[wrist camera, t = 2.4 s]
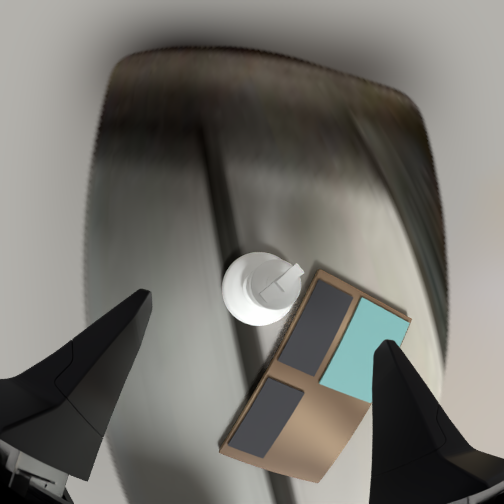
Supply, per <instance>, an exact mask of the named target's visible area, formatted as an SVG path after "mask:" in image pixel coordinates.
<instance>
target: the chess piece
mask: <svg viewBox="0 0 504 504" xmlns="http://www.w3.org/2000/svg"><path fill="white" fill-rule="evenodd" d="M304 273H305V272H304V271H303V270H302V269H301V267H300V266H299V265H298V264H297V263H296V264H294V265H292V264H290V263H289V262H287V261H284V260H282V259H281V258H279V257H277V256H275V255H273V254H270V253H266V252H252V253H248V254H245V255H243V256H241V257H239V258H238V259H236V260H235V261H234V262H233V263H232V264H231V265H230V266H229V268H228V269H227V271H226V273H225V275H224V278H223V282H222V295H223V299H224V302H225V305H226V307H227V308H228V310H229V311H230V312H231V314H232V315H233V316H234V317H236V318H237V319H238V320H240V321H242V322H244V323H246V324H250V325H255V326H263V325H268V324H271V323H274V322H276V321H278V320H280V319H281V318H282V317H284V316H285V315H286V314H287V313H288V311H289V310H290V308H291V307H292V305H293V303H294V302H295V301H296V299H297V298H298V296H299V294H300V291H301V278H300V276H301V275H302V274H304Z"/></svg>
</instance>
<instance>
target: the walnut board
mask: <svg viewBox="0 0 504 504" xmlns="http://www.w3.org/2000/svg"><path fill="white" fill-rule="evenodd" d="M318 279H319V280H321V281H323V282H325V283H327V284H329V285H331V286H333V287H335V288H336V289H338V290H340V291H342V292H344V293H346V294H348V295H350V296H352V297H353V300H352V302H351V304H350V306H349V309H348V311H347V313H346V315H345V317H344V319H343V321H342V323H341V326H340V328H339V330H338V332H337V334H336V336H335V338H334V340H333V342H332V344H331V346H330V348H329V350H328V352H327V354H326V355H325V357H324V359H323V361H322V363H321V365H320V367H319V369H318V370H317V372H316V374H315V376H314V377H313V376H311V375H309V374H306V373H304V372H302V371H299V370H297V369H295V368H292V367H290V366H288V365H286V364H283V363H281V362H279V361H277V360H278V358H279V356H280V354H281V352H282V350H283V349H284V347H285V345H286V343H287V341H288V339H289V337H290V335H291V333H292V331H293V330H294V328H295V326H296V324H297V322H298V320H299V318H300V316H301V314H302V312H303V310H304V308H305V306H306V304H307V302H308V300H309V298H310V296H311V294H312V291H313V289H314V287H315V285H316V283H317V281H318ZM361 297H363V298H364V299H366V300H368V301H370V302H372V303H374V304H376V305H377V306H379V307H381V308H383V309H385V310H387V311H388V312H390V313H392V314H394V315H396V316H398V317H399V318H401V319H403V320H405V321H407V322H409V323H411V320H412V319H411V318H409V317H407V316H406V315H404V314H402V313H400V312H398V311H397V310H395V309H393V308H391V307H389V306H388V305H386V304H384V303H382V302H380V301H379V300H377V299H375V298H373V297H371V296H369V295H368V294H366V293H364V292H362V291H360V290H358V289H357V288H355V287H353V286H351V285H349V284H347V283H346V282H344V281H342V280H340V279H338V278H336V277H334V276H333V275H331V274H329V273H327V272H325V271H323V270H321V269H318V270H317V272H316V274H315V276H314V278H313V280H312V282H311V284H310V286H309V289H308V291H307V293H306V295H305V297H304V299H303V301H302V303H301V305H300V307H299V309H298V311H297V313H296V315H295V317H294V319H293V321H292V323H291V325H290V327H289V328H288V330H287V332H286V334H285V336H284V338H283V340H282V342H281V344H280V346H279V347H278V349H277V351H276V353H275V355H274V357H273V359H272V360H271V362H270V364H269V366H268V368H267V370H266V371H265V373H264V375H263V377H262V378H261V380H260V382H259V384H258V386H257V387H256V389H255V391H254V393H253V394H252V396H251V398H250V399H249V401H248V403H247V405H246V406H245V408H244V410H243V411H242V413H241V415H240V416H239V418H238V420H237V421H236V423H235V425H234V426H233V428H232V429H231V431H230V433H229V434H228V436H227V437H226V439H225V441H224V442H223V444H222V445H221V447H220V449H219V453H221V454H223V455H226V456H229V457H231V458H234V459H237V460H239V461H242V462H245V463H248V464H251V465H253V466H256V467H260V468H263V469H266V470H269V471H272V472H276V473H279V474H283V475H286V476H290V477H294V478H298V479H302V480H306V481H310V482H315V483H319V481H320V480H321V479H322V478H323V476H324V475H325V474H326V472H327V471H328V470H329V468H330V467H331V466H332V464H333V463H334V461H335V460H336V459H337V457H338V456H339V454H340V453H341V452H342V450H343V449H344V447H345V446H346V444H347V443H348V441H349V440H350V438H351V437H352V435H353V433H354V432H355V430H356V429H357V427H358V426H359V424H360V422H361V421H362V419H363V417H364V416H365V414H366V412H367V411H368V409H369V407H370V405H371V404H372V402H371V403H369V402H366V401H363V400H360V399H358V398H355V397H352V396H350V395H347V394H344V393H342V392H339V391H336V390H334V389H331V388H329V387H326V386H324V385H321V384H319V381H320V379H321V377H322V376H323V374H324V372H325V370H326V368H327V366H328V364H329V363H330V361H331V359H332V357H333V355H334V353H335V351H336V349H337V347H338V345H339V343H340V341H341V339H342V337H343V335H344V333H345V331H346V329H347V327H348V325H349V322H350V320H351V318H352V316H353V314H354V312H355V309H356V307H357V305H358V303H359V301H360V298H361ZM409 325H410V324H409ZM408 328H409V326H408ZM407 330H408V329H407ZM406 333H407V331H406ZM406 333H405V335H406ZM404 337H405V336H404ZM403 340H404V338H403ZM403 340H402V342H403ZM401 344H402V343H401ZM400 346H401V345H400ZM268 377H269V378H272V379H274V380H276V381H278V382H281V383H283V384H285V385H288V386H290V387H293V388H295V389H297V390H300V391H302V392H304V393H305V394H304V395H303V397H302V399H301V400H300V402H299V404H298V405H297V407H296V409H295V410H294V412H293V414H292V415H291V417H290V419H289V420H288V422H287V423H286V425H285V427H284V428H283V430H282V431H281V433H280V434H279V436H278V437H277V439H276V440H275V442H274V443H273V445H272V446H271V448H270V449H269V451H268V452H267V454H266V455H265V457H264V458H260V457H257V456H254V455H251V454H248V453H246V452H243V451H240V450H238V449H235V448H232V447H230V446H228V443H229V441H230V440H231V438H232V437H233V435H234V433H235V432H236V430H237V429H238V427H239V425H240V424H241V422H242V420H243V419H244V417H245V416H246V414H247V412H248V411H249V409H250V407H251V405H252V404H253V402H254V400H255V399H256V397H257V395H258V394H259V392H260V390H261V388H262V387H263V385H264V383H265V381H266V380H267V378H268Z"/></svg>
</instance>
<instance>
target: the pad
mask: <svg viewBox="0 0 504 504" xmlns="http://www.w3.org/2000/svg"><path fill="white" fill-rule="evenodd" d="M409 324H410V323H409V322H407V321H405V320H403V319H401V318H399V317H398V316H396V315H394V314H392V313H390V312H388V311H387V310H385V309H383V308H381V307H379V306H377V305H376V304H374V303H372V302H370V301H368V300H366V299H364V298H363V297H361V298H360V301H359V303H358V305H357V307H356V309H355V312H354V314H353V316H352V318H351V320H350V322H349V325H348V327H347V329H346V331H345V333H344V335H343V337H342V339H341V341H340V343H339V345H338V347H337V349H336V351H335V353H334V355H333V357H332V359H331V361H330V363H329V364H328V366H327V368H326V370H325V372H324V374H323V376H322V377H321V379H320V381H319V384H321V385H324V386H326V387H329V388H331V389H334V390H336V391H339V392H342V393H344V394H347V395H350V396H352V397H355V398H358V399H360V400H363V401H366V402H369V403H371V402H372V376H373V355H374V352H375V350H376V349H377V348H378V346H379V345H380V344H381V343H382V342H383V341H384V340H385V339H389V340H394V341H395V342H396V343H397V345H398V346H399V347H400V345H401V343H402V340H403V338H404V336H405V333H406V331H407V329H408V326H409Z"/></svg>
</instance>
